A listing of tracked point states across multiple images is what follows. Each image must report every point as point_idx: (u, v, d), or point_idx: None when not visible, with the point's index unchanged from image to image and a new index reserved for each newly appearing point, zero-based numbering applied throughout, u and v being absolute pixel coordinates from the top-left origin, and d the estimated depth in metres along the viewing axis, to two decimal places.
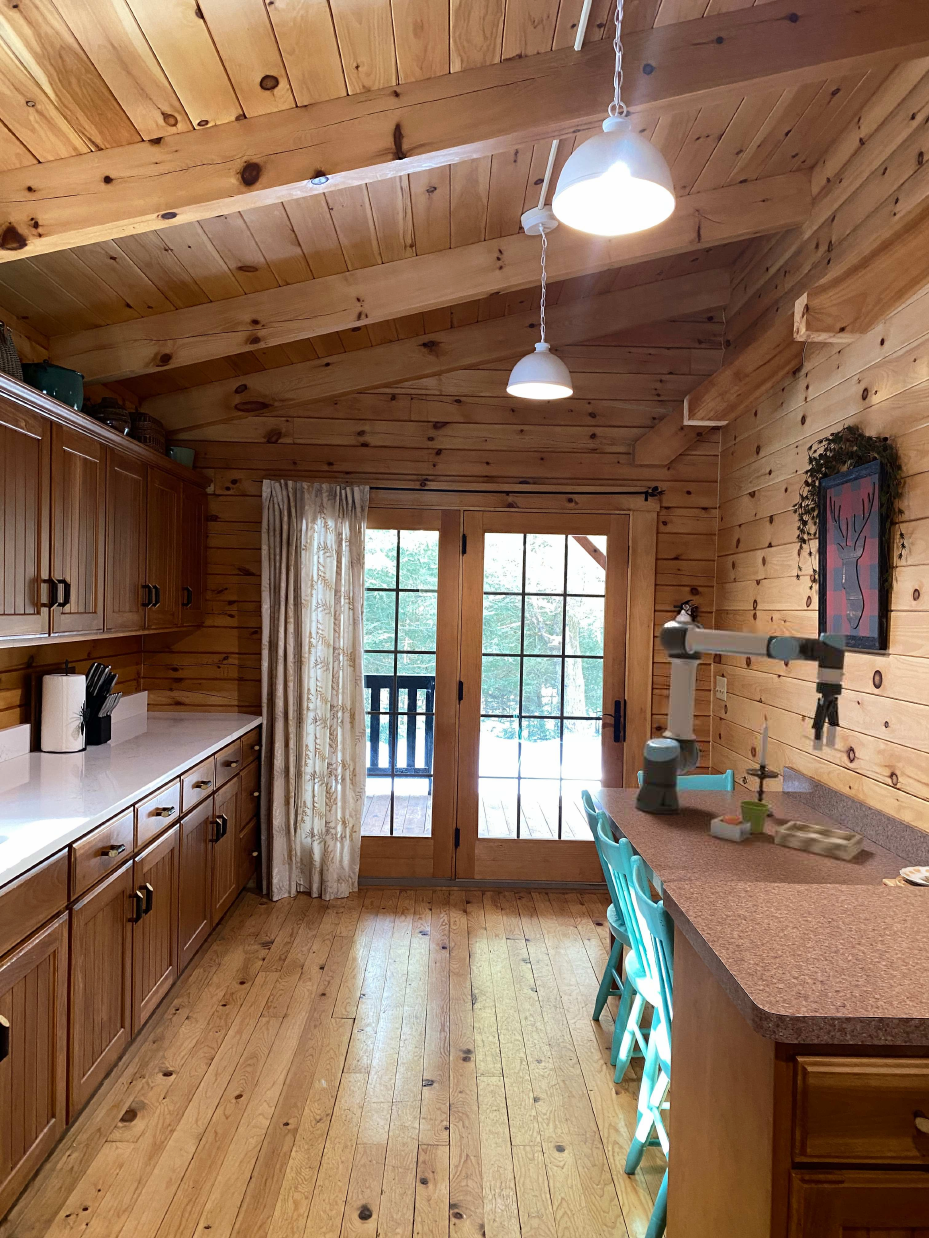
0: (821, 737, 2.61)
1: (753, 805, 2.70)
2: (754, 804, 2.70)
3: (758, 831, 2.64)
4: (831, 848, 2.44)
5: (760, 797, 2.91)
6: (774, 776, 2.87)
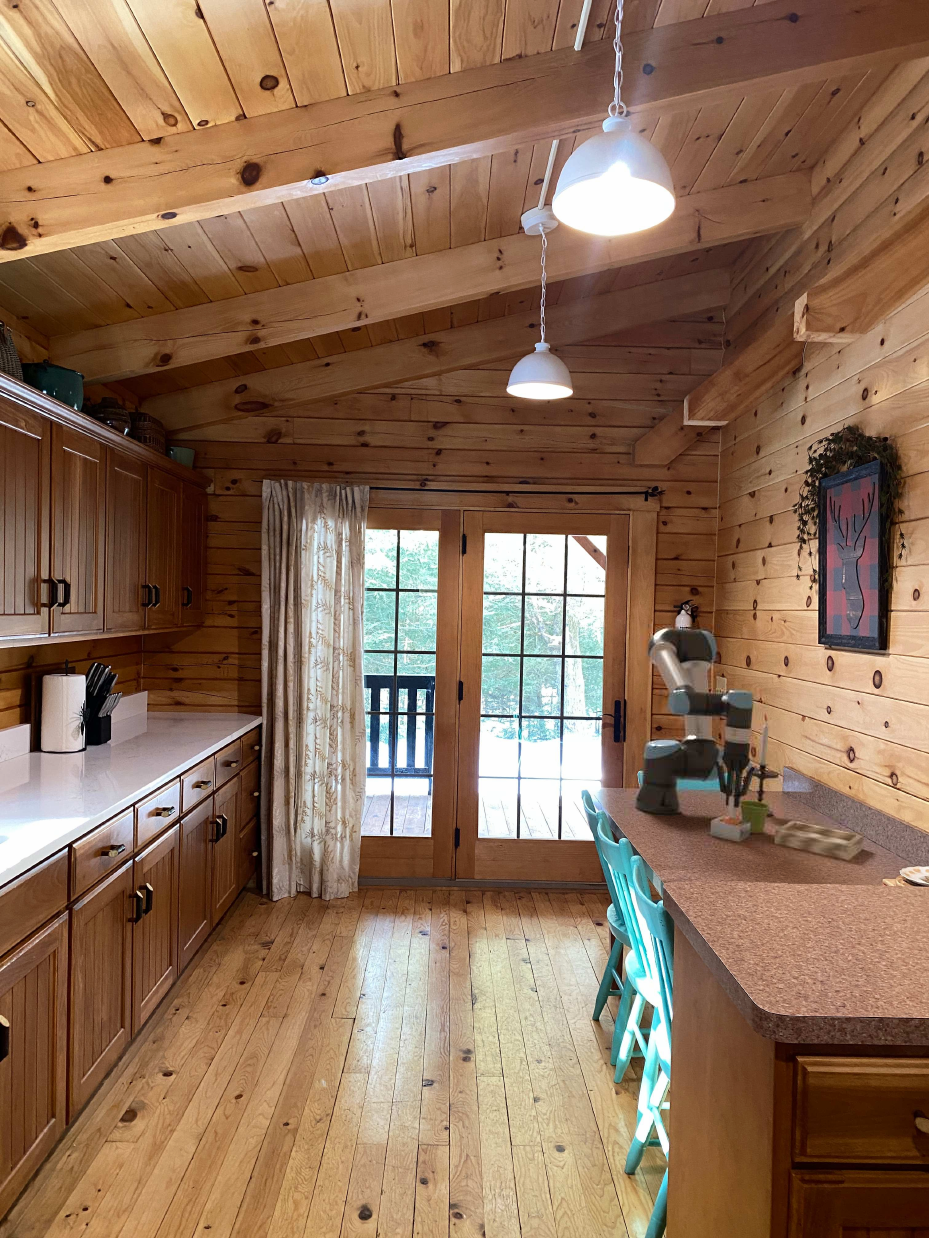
0: (728, 803, 2.58)
1: (753, 805, 2.70)
2: (754, 804, 2.70)
3: (758, 831, 2.64)
4: (831, 848, 2.44)
5: (760, 797, 2.91)
6: (774, 776, 2.87)
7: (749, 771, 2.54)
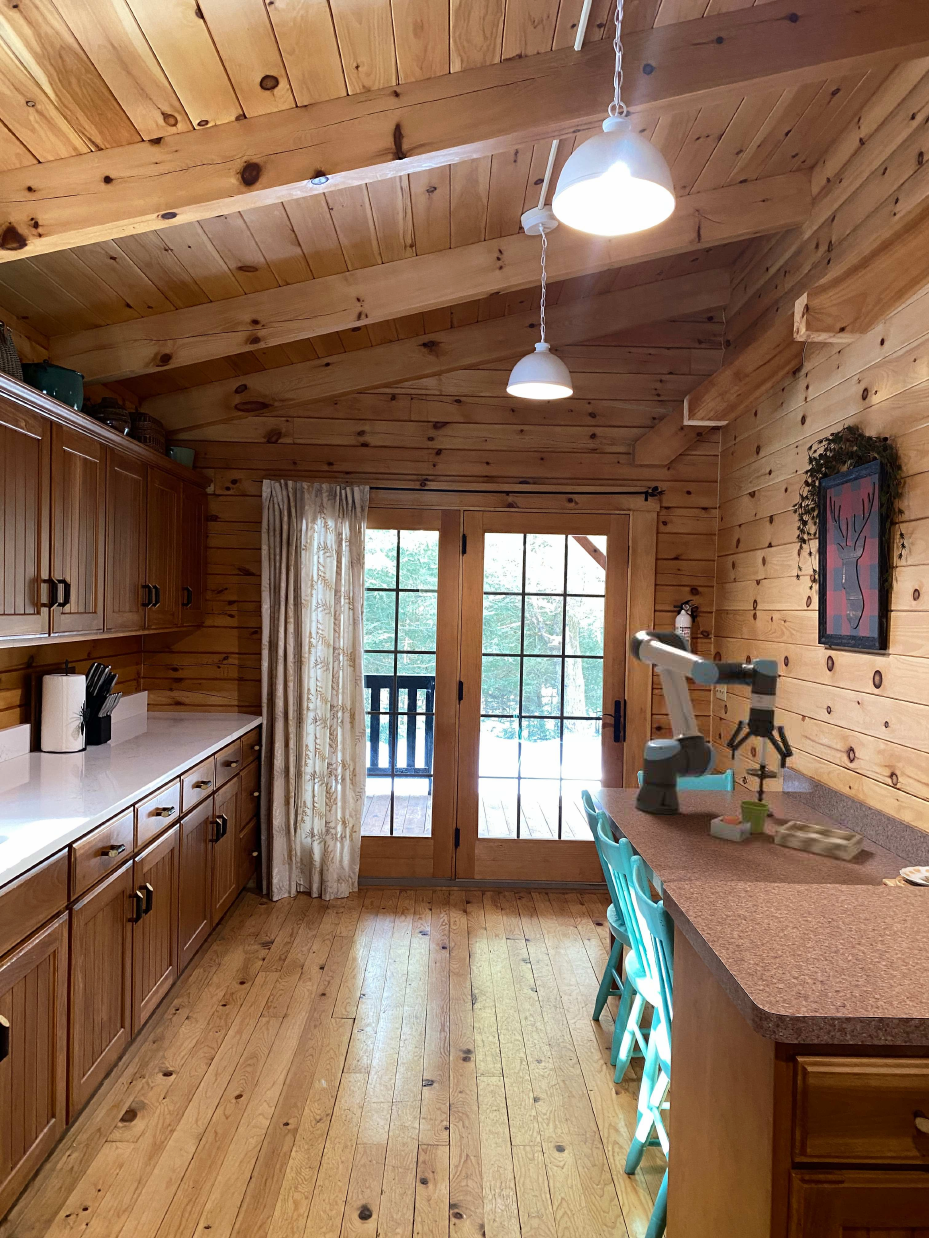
0: (734, 757, 2.70)
1: (753, 805, 2.70)
2: (754, 804, 2.70)
3: (758, 831, 2.64)
4: (831, 848, 2.44)
5: (760, 797, 2.91)
6: (774, 776, 2.87)
7: (779, 731, 2.61)
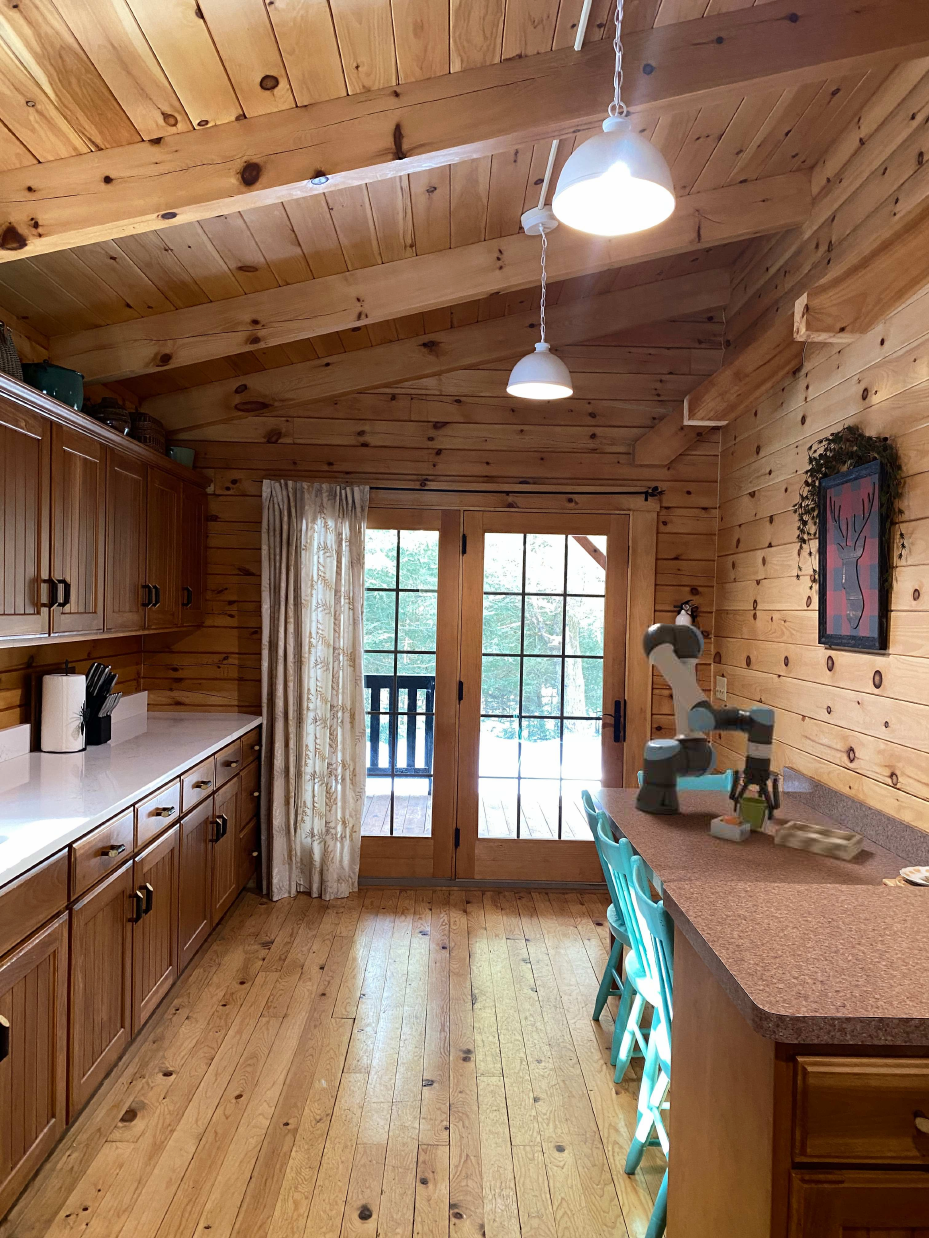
0: (736, 810, 2.69)
1: (752, 801, 2.71)
2: (753, 800, 2.71)
3: (757, 827, 2.64)
4: (831, 848, 2.44)
5: (760, 797, 2.91)
6: (774, 776, 2.87)
7: (773, 783, 2.62)
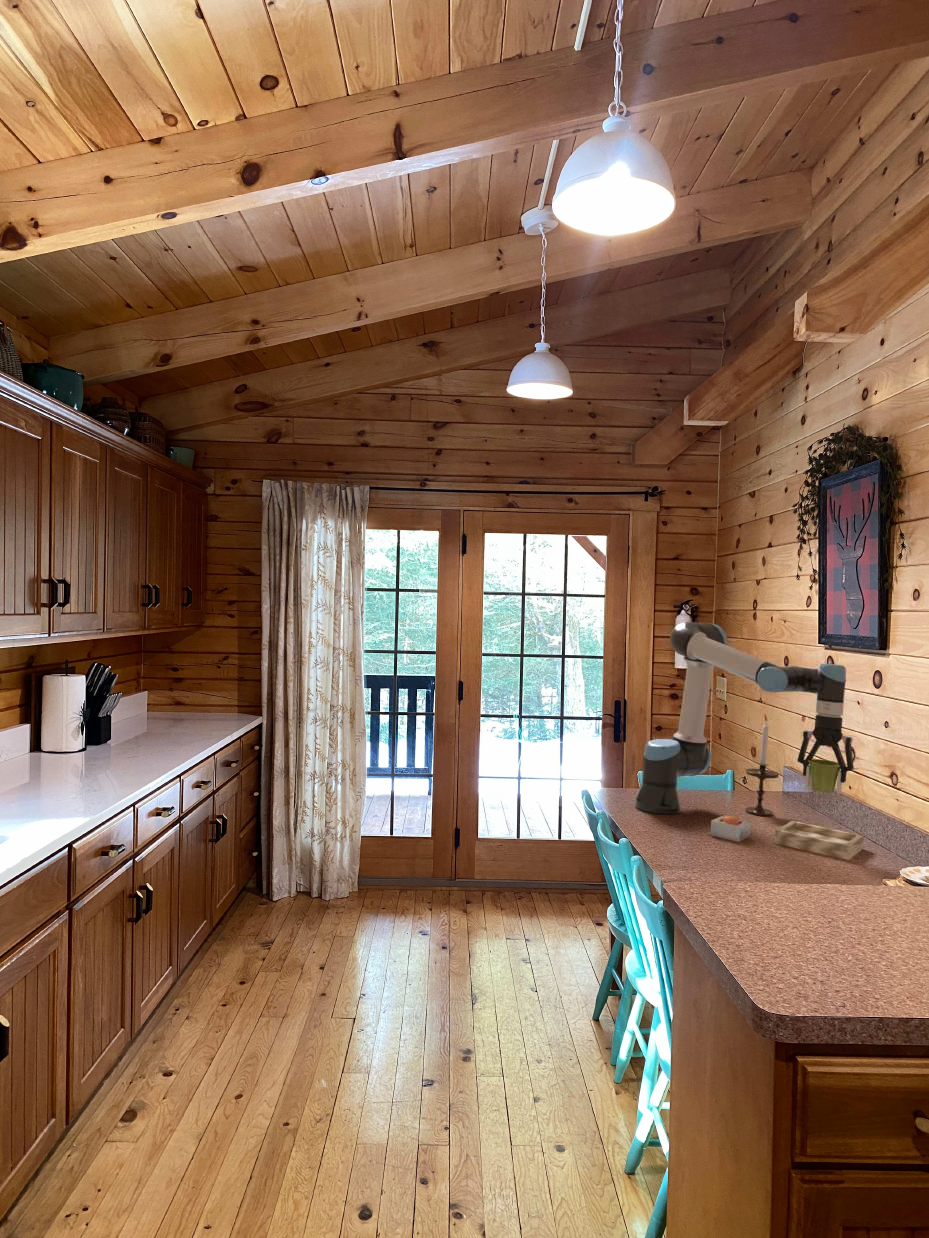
0: (806, 773, 2.56)
1: (822, 764, 2.58)
2: (823, 763, 2.58)
3: (829, 790, 2.51)
4: (831, 848, 2.44)
5: (760, 797, 2.91)
6: (774, 776, 2.87)
7: (846, 743, 2.49)
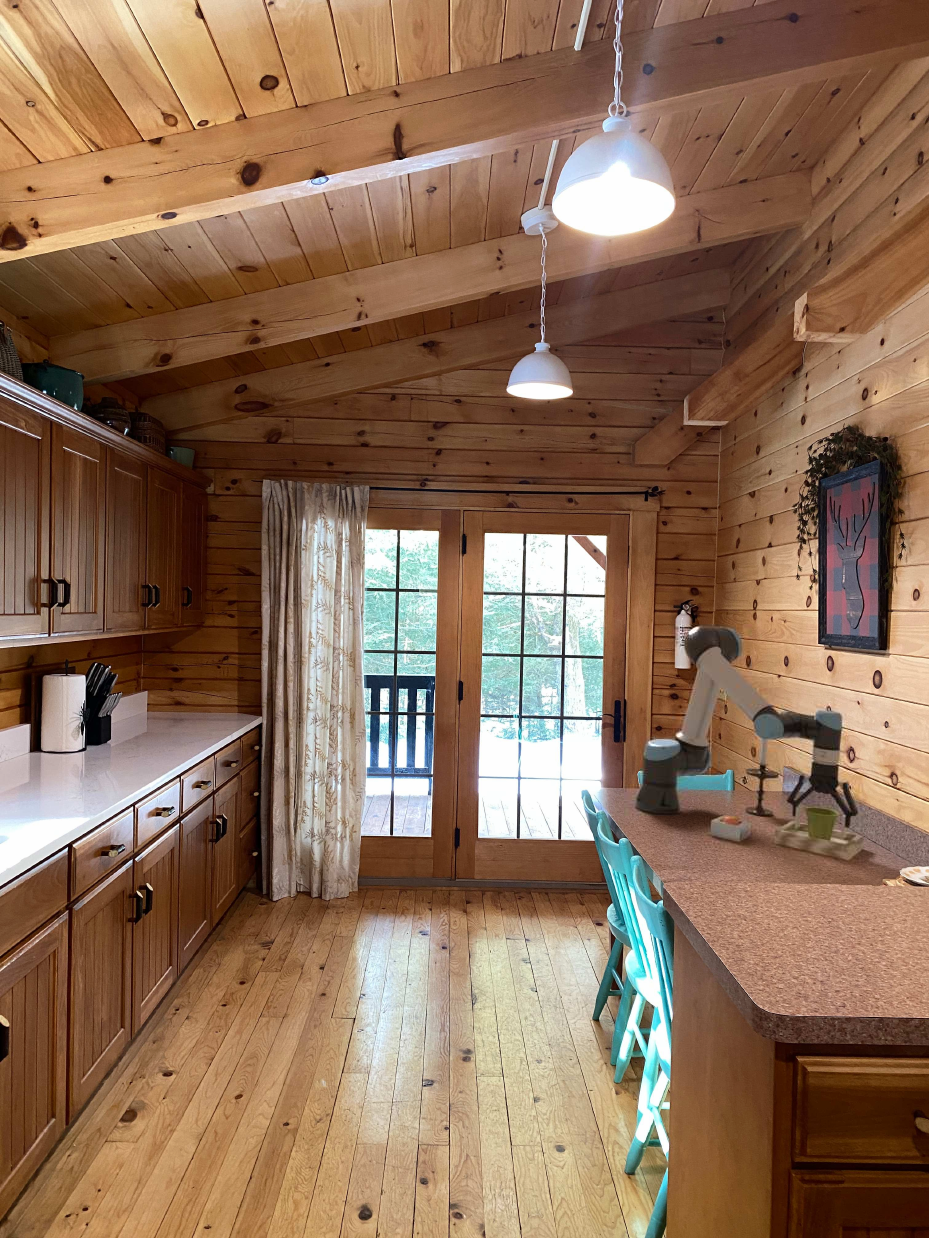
0: (795, 814, 2.58)
1: (819, 812, 2.58)
2: (819, 811, 2.58)
3: (826, 839, 2.51)
4: (831, 848, 2.44)
5: (760, 797, 2.91)
6: (774, 776, 2.87)
7: (844, 789, 2.49)
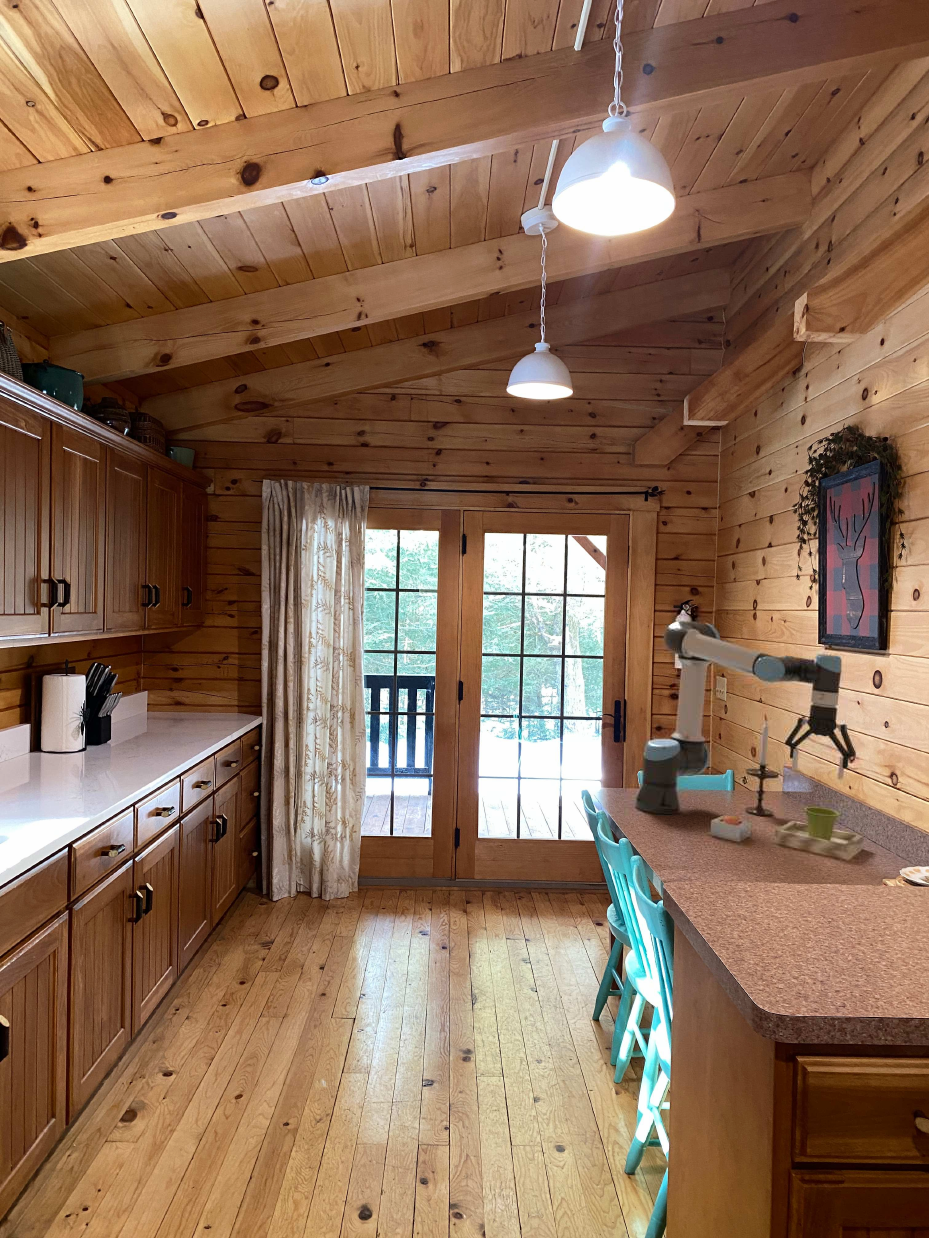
0: (793, 756, 2.61)
1: (819, 812, 2.58)
2: (819, 811, 2.58)
3: (826, 839, 2.51)
4: (831, 848, 2.44)
5: (760, 797, 2.91)
6: (774, 776, 2.87)
7: (842, 730, 2.52)
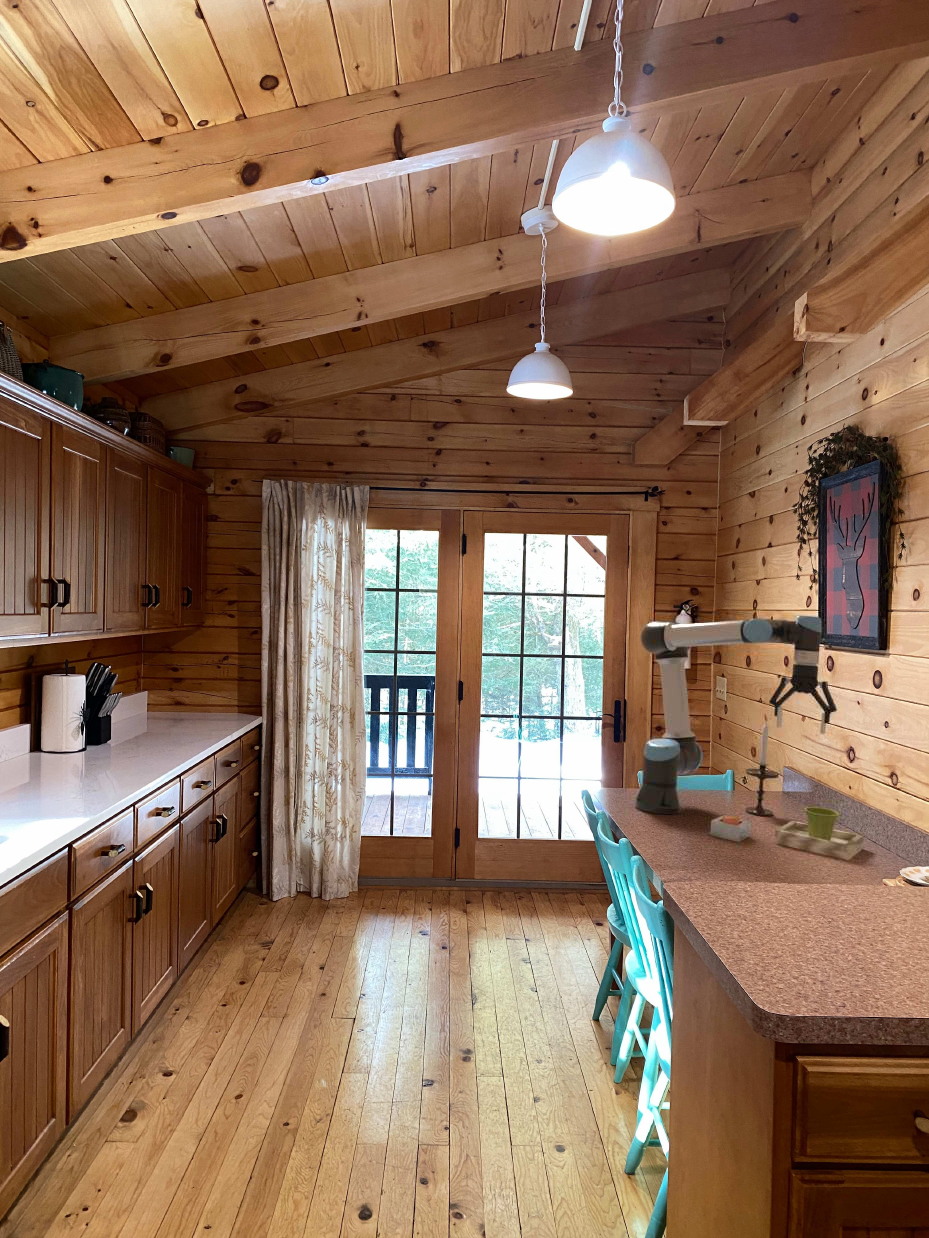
0: (777, 714, 2.73)
1: (819, 812, 2.58)
2: (819, 811, 2.58)
3: (826, 839, 2.51)
4: (831, 848, 2.44)
5: (760, 797, 2.91)
6: (774, 776, 2.87)
7: (823, 687, 2.64)
